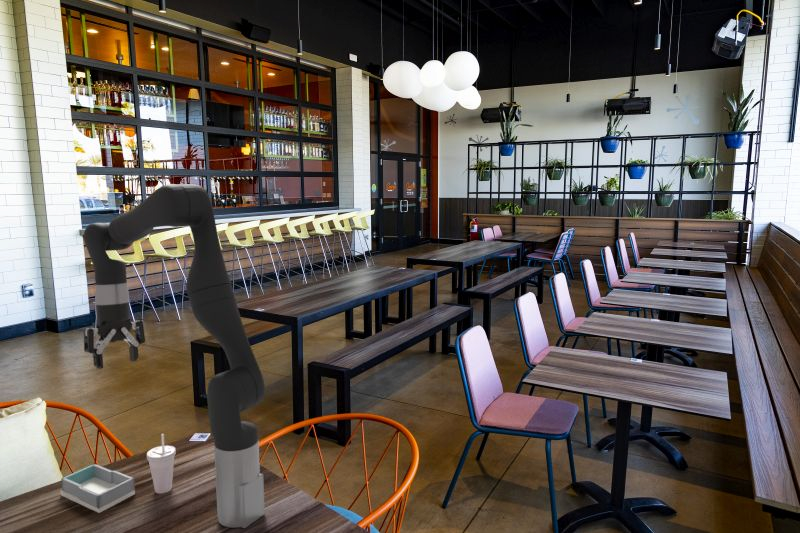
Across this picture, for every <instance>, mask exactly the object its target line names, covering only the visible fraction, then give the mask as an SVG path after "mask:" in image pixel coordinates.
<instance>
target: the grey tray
mask: <svg viewBox="0 0 800 533" xmlns="http://www.w3.org/2000/svg"><path fill="white" fill-rule="evenodd" d="M135 487H136V486H135V478H134V477H132V476H129V475H128V474H124V473H122V472H119V471H117V470H111V469H108V468H106V467H104V466H101V465H99V464H96V463H93V464H91V465H89V466H86V467H85V468H82V469H80V470H78V471H75V472H73V473H72V474H71V473H70V474H69V475H66V476H64V477H62V478H61V489H62V490H60V495H61V496H62V497H63V498H66V499H68V500H70V501H72V502H73V503H74V502H75V503H77V504H79V505H81V506H83V507H85V508H87V509H89V510H92V511H94V512H96V513H98V514H100V513H102V512H103V511H106V510H109V508H112V507H114V506H116V505H118V504H119V503H121V502H122V501H125V500H126V499H128V498H130V497H132V496H134V495H135V494H136V488H135Z"/></svg>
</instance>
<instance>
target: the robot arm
mask: <svg viewBox="0 0 800 533" xmlns="http://www.w3.org/2000/svg"><path fill="white" fill-rule="evenodd" d="M214 213H215V212H214V208H213V205H212V201H211V198H210V196H209V194H208V191H207V190H206V189H205V188H204V187H203V186H201V185H199V184H194V183H193V184H189V183H188V184H184V183H183V184H182V183H181V184H179V183H178V184H175V183H169V184H164V185H162V186H159V187H158V188H157V189H156V190H154V191H153V192H152V193H151V194H150V195H148V197H146V198H145V199H144V200H143V201H142V202H140V203H139V204H138V205H137V206H135V207H134V208H132V209H130V210H128V211H125V212H124V213H122V214H120V215H118V216H116V217H115V218H113V219H111V221H110V222H93V223H90V224H88V225H87V226H86V227H85V229H84V232H83V241H84V244H85V247H86V250H87V252H88V254H89V257H90V260H91V263H92V266H93V269H94V281H95V283H94V284H95V288H94V289H95V291H94V296H95V297H94V298H95V300H94V302H95V309H96V311H95V312H96V322H97V326H96V327H94V328H93V327H92V328H89V327H85V328H84V329H83V351H84V352H85V353H88V354H92V357H93V366H94V367H95V368H96V369H97V370H98V369H99V370H101V369H104V359H103V353H102V352H103V351H104V349H105V348H106V347H107V346H108V345H109V343H115V342H117V341H120V342H123V341H125V342H126V343H127V344H128V345H129V347H128V350H129V351H128V352H129V361H130V362H133V363H134V362H137V360H138V358H139V346H140V345H142V344H144V343H146V336H145V329H144V322H143V321H142V320H137V319H136V320H134V321H131V308H130V306H131V305H130V293H129V292H130V291H129V286H128V279H127V267H126V263H125V262H124V261H123V260H119V259H113V258H110V256H109V255H108V253H107V252H108V251H123V250H126V249H129V248H130V247H131V246H132V245H133V244H134V243H135V242H137V241H139V240H142V239H144V238H146V237H147V236H149V235H150V234H151V233H152V231H153V230H154V228H160V227H161V228H162V227H174V228H178V227H179V228H180V227H181V228H182V227H189V228H190V230H191V233H192V237H193V238H192V239H193V244H194V252H193V257H192V261H191V265H190V268H189V271H188V275H187V278H186V284H185V286H186V293H187V296H188V300H189V304H190V307H191V311H192V313H193V317H194V318H195V319H196V321H197V322H198V324H200V326H201V327H202V328H203V329H204V330H205V331H206V332H207V333H208V334H209V335H210V336H212V337H213V338H214V339H215V341H216V342H217V343H218V344H219V345H220V346H221V348H222V349H223V351H224V353H225V355H226V356H225V357H226V358H227V360H228V364H229V368H230V369H228V370H226V371H223V372H220V373H217V374H215V375H213V376H212V377H211V378H210V379H209V382H208V384H207V389H206V391H207V392H206V399H207V408H208V417H209V427H210V432H211V434H212V437H213V442H214V443H213V445H214V463H215V464H214V466H215V467H214V468H215V491H216V508H217V510H216V512H217V522H218V523H219V524H220V525H221V526H223V527H226V528H231V529H233V528H243V529H246V528H247V527H249V526H250V525H251V524H253V523H254V522H256V521H257V520H258V519H260V518H261V517H263V516H264V515H265V514H266V512H265V511H266V510H265V488H264V487H265V486H264V484H265V483H264V474H263V473H260V472H261V471H260V469H261V468H260V443H259V442H260V438H259V428H258V426H257V425H256V424H254V423H252V422H250V421H245V420H242V419H241V413H242V412H244V411H246V410H249V409H250V408H253V407H254V406H257V405H259V404H260V403H261V402H263V400H264V398H265V394H266V386H265V380H264V377H263V374H262V371H261V368H260V367H259V364H258V361H257V358H256V356H255V354H254V351H253V349H252V346H251V344H250V341H249V339H248V335H247V332H246V330H245V327H244V324H243V321H242V317H241V314H240V310H239V307H238V303H237V300H236V296H235V293H234V289H233V285H232V282H231V279H230V277H229V274H228V271H227V267H226V263H225V259H224V256H223V251H222V248H221V245H220V239H219V235H218V229H217V224H216V219H215V214H214ZM131 329H133V330H134V336H133V334H131V333H130V331H131ZM96 334H98V335H99V337H98V338H97V340H96V342H95V337H96Z"/></svg>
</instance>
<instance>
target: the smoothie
mask: <svg viewBox="0 0 800 533" xmlns="http://www.w3.org/2000/svg"><path fill="white" fill-rule="evenodd" d="M160 436H161V445H160V446H156V447H153V448H151V449H150V450H148V451H147V452H146V459H147V461H148V463H149V468H150V473H151V474H150V475H151V477H152V482H153V484H152V485H153V487H154V488H153V489H154V492H155V493H156V494H159V495H160V494H165V493H168V492H170V491H171V490H172V489H173V488H172V487H173V477H174V466H175V455H176V454H177V451H176V447H175V446H173V445H165V434H164V433H161V435H160Z"/></svg>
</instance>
